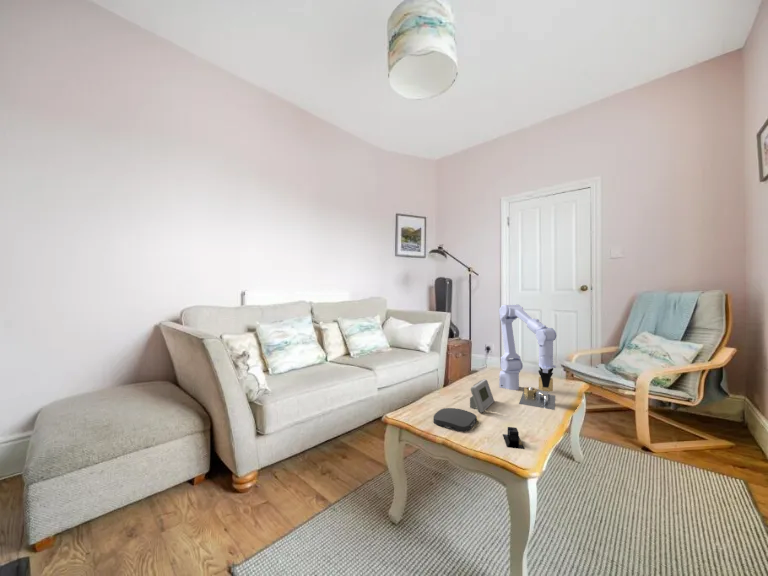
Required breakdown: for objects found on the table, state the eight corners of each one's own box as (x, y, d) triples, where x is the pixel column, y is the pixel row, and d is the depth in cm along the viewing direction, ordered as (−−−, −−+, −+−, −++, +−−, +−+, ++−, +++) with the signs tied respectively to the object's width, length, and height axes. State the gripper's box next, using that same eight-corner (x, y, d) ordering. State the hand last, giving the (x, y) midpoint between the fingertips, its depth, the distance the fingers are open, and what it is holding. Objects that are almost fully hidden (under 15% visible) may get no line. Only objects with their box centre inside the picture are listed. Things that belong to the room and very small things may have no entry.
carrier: (519, 405, 137) (519, 396, 137) (523, 392, 154) (523, 384, 154) (554, 411, 130) (554, 402, 130) (555, 397, 147) (555, 389, 147)
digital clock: (481, 414, 127) (481, 389, 127) (462, 408, 134) (462, 384, 134) (500, 405, 138) (500, 381, 138) (482, 399, 144) (482, 377, 144)
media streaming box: (445, 411, 131) (445, 404, 131) (479, 420, 122) (479, 412, 122) (429, 424, 119) (430, 416, 119) (466, 434, 110) (466, 426, 110)
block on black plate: (499, 433, 112) (499, 420, 112) (520, 435, 110) (520, 422, 110) (505, 451, 99) (505, 437, 99) (529, 453, 98) (529, 439, 98)
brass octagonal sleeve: (538, 390, 136) (538, 378, 136) (539, 386, 141) (539, 376, 141) (552, 392, 133) (552, 380, 134) (552, 388, 138) (553, 377, 138)
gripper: (556, 359, 129) (556, 391, 129) (556, 353, 142) (556, 382, 141) (537, 357, 132) (537, 388, 132) (539, 351, 145) (539, 380, 145)
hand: (546, 385), depth 137 cm, fingers closed on brass octagonal sleeve, 6 cm apart
